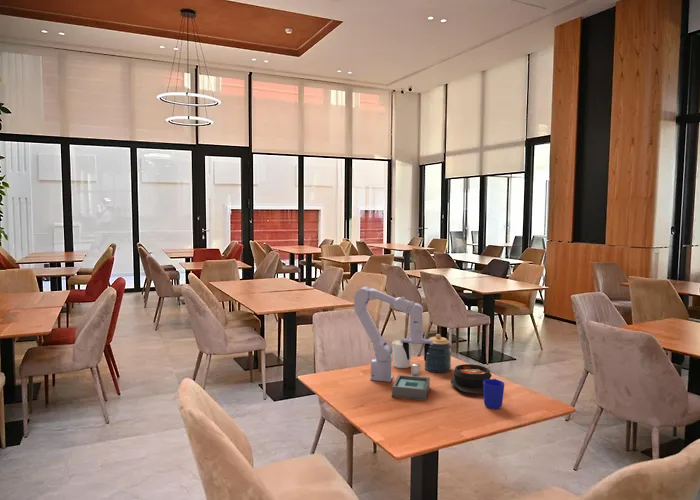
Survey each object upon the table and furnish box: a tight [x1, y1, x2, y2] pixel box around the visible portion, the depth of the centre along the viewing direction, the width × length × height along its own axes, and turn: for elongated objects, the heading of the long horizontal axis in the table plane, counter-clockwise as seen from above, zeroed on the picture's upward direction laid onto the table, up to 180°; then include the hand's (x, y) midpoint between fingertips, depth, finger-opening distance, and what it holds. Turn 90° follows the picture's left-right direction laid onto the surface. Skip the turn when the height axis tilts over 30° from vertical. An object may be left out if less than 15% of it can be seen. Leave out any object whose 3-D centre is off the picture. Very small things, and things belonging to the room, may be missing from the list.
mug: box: [483, 378, 505, 410], centre depth 202 cm, size 8×12×10 cm
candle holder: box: [391, 339, 413, 369], centre depth 253 cm, size 10×10×12 cm
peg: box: [410, 362, 421, 377], centre depth 230 cm, size 4×4×8 cm
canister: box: [423, 333, 452, 373], centre depth 248 cm, size 13×13×18 cm
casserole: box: [450, 363, 493, 394], centre depth 223 cm, size 25×19×8 cm
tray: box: [391, 374, 431, 401], centre depth 216 cm, size 14×16×4 cm
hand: (416, 359), depth 229 cm, fingers open, 7 cm apart
